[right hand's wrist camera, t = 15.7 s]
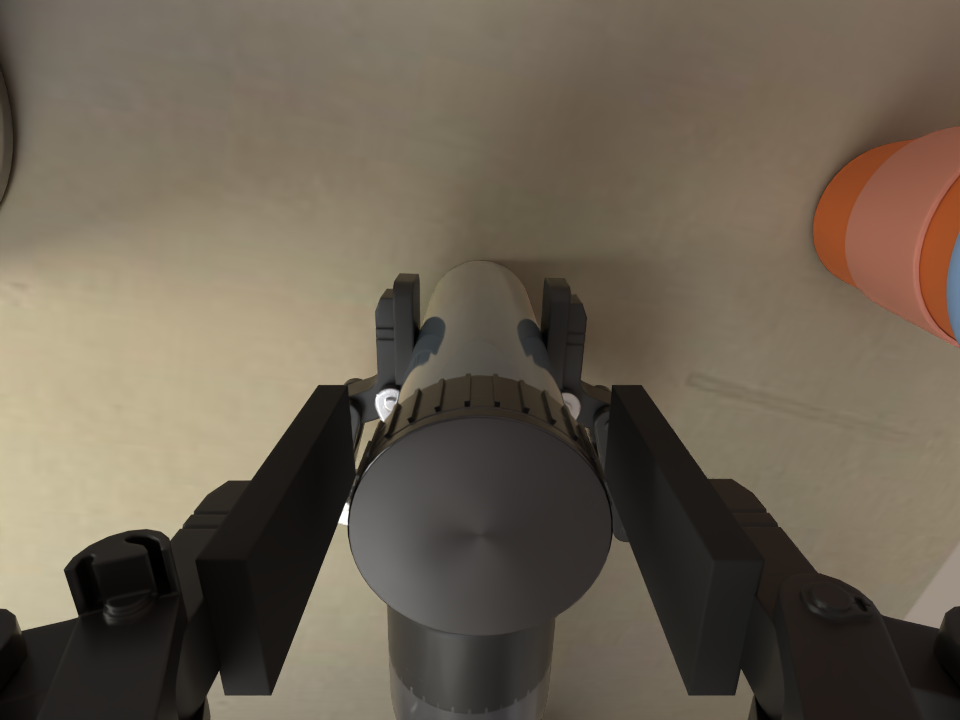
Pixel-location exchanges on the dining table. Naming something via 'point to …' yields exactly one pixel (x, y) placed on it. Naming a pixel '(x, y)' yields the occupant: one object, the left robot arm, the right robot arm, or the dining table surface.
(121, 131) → the dining table surface
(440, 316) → the blue-gray bottle
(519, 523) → the lid
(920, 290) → the cup with straw
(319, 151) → the dining table surface
